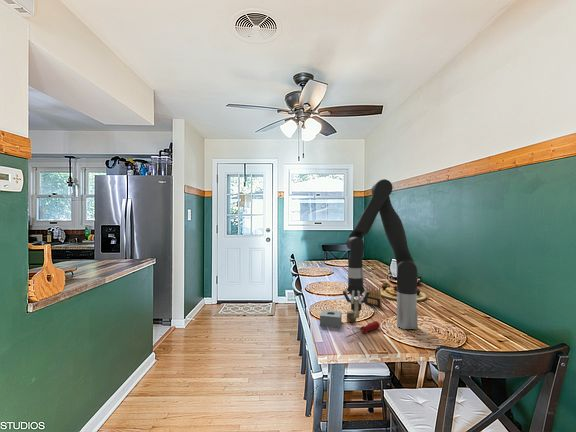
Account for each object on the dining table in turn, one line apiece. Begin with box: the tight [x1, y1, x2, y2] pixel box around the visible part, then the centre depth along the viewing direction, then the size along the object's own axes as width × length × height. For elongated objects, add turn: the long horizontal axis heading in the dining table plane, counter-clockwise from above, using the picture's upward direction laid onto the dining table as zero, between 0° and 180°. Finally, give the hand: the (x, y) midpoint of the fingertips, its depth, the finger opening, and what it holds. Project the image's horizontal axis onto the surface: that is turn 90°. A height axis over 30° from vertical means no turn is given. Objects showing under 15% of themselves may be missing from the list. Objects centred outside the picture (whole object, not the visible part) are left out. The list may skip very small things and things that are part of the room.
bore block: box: [319, 309, 343, 329], centre depth 153 cm, size 10×10×5 cm
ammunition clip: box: [364, 284, 382, 308], centre depth 185 cm, size 11×2×12 cm, turn 43°
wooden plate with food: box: [378, 281, 428, 303], centre depth 209 cm, size 32×32×8 cm
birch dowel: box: [353, 298, 360, 319], centre depth 150 cm, size 3×3×9 cm
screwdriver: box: [345, 320, 380, 338], centre depth 139 cm, size 4×25×4 cm, turn 131°
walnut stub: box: [346, 310, 357, 323], centre depth 156 cm, size 5×5×4 cm
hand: (356, 310), depth 150 cm, fingers closed on birch dowel, 2 cm apart
